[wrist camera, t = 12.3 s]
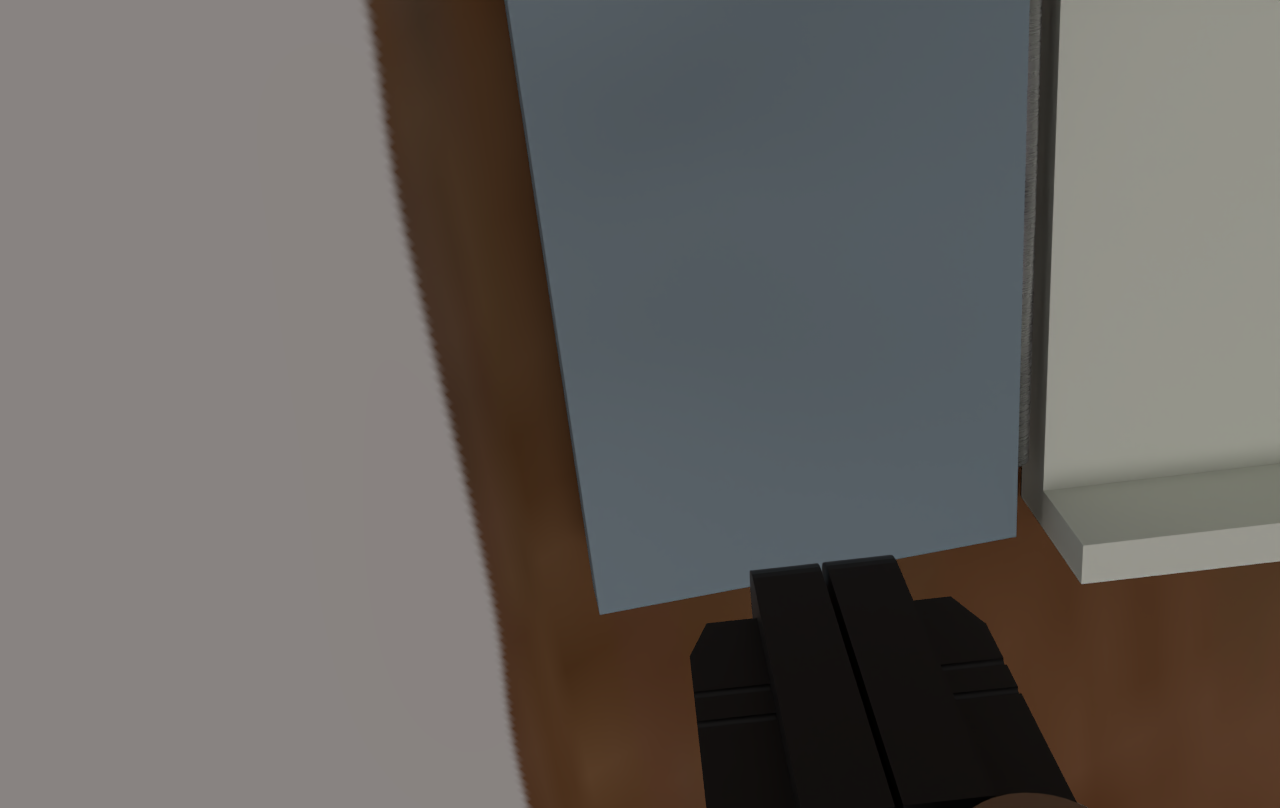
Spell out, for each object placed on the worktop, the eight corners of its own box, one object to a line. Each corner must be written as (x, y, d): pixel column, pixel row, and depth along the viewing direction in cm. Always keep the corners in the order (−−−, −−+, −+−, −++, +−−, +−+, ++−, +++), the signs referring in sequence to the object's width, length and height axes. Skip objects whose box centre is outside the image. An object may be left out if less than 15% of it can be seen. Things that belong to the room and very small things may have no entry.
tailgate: (1060, -203, 21) (486, -134, 20) (1035, 532, 28) (600, 614, 27) (1030, -199, 22) (484, -133, 21) (1013, 508, 29) (593, 586, 28)
